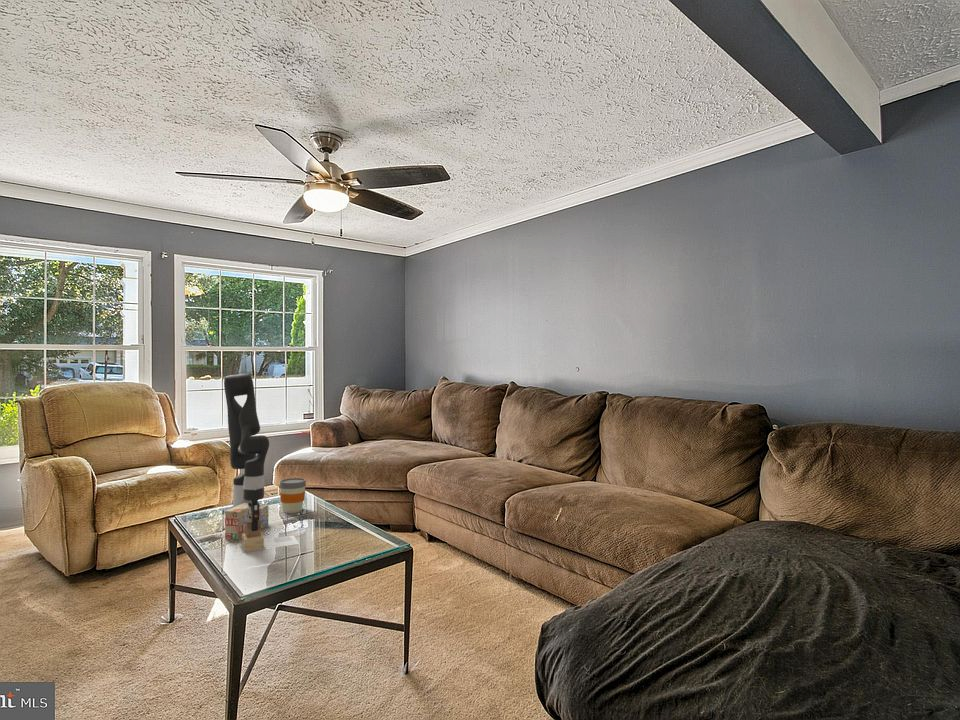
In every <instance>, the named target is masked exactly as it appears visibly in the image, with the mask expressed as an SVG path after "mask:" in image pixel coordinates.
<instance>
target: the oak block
mask: <svg viewBox="0 0 960 720" xmlns="http://www.w3.org/2000/svg"><path fill="white" fill-rule="evenodd" d="M241 539H242V540H241V543H242V548H243V551H244V552H247V553H249V552H248V551H253V552H256V551H255V550H259V551H262V550H261V549H264V540H265V535H264V533H263V532H262V531H261V536H256V537H250V538H247V537H246V535H245V534H242V538H241Z"/></svg>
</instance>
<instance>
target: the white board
mask: <svg viewBox="0 0 960 720" xmlns="http://www.w3.org/2000/svg"><path fill="white" fill-rule="evenodd" d="M295 545H300V542H299V541H298V539H297V538H296V537H295V535H285V536H278V537H273V538H267V539H264V549H261V550H255V551H248V552H244V551H243V548H242V542H241V543H236V546H237V548H238V552H239V554H245V553H252V552H259V551H265V550H269V549H270V550H271V549H275V548H282V547H289V546H295Z"/></svg>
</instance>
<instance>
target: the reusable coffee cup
mask: <svg viewBox="0 0 960 720" xmlns="http://www.w3.org/2000/svg"><path fill="white" fill-rule="evenodd" d="M306 482H307V481H306V479H305V478H301V477H291V478H290V477H289V478H284V479H281V480H280V482H279V488H280V490H279V491H280V492H279V497H280V503H281V505H282V512H283V513H285V514H294V513H299V511H300V512H301V511H302V510H303V503H304V501H305V495H306V490H305V489H306V486H307V483H306Z"/></svg>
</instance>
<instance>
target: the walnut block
mask: <svg viewBox="0 0 960 720" xmlns="http://www.w3.org/2000/svg"><path fill="white" fill-rule="evenodd" d="M251 523H252V522H251V518H250V519H246V523H245V535H246V537H247V538H250V537H256V536H261V532H262V528H261V520H260V518H259V520H258V530H257V531H252V530H251Z"/></svg>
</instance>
